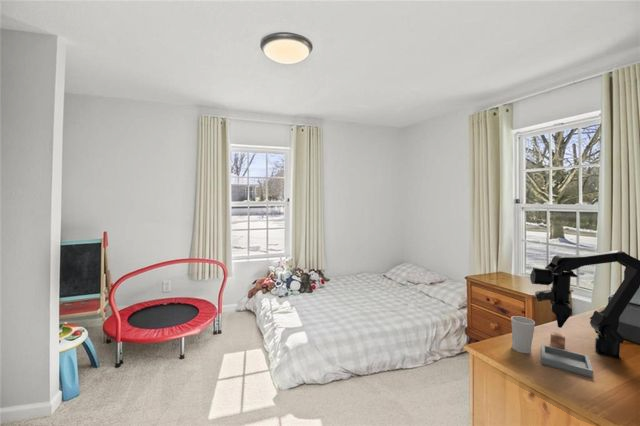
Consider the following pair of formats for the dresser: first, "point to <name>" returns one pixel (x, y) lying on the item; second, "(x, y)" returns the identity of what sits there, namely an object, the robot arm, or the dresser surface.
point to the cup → (522, 333)
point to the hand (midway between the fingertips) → (558, 323)
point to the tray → (566, 360)
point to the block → (557, 340)
